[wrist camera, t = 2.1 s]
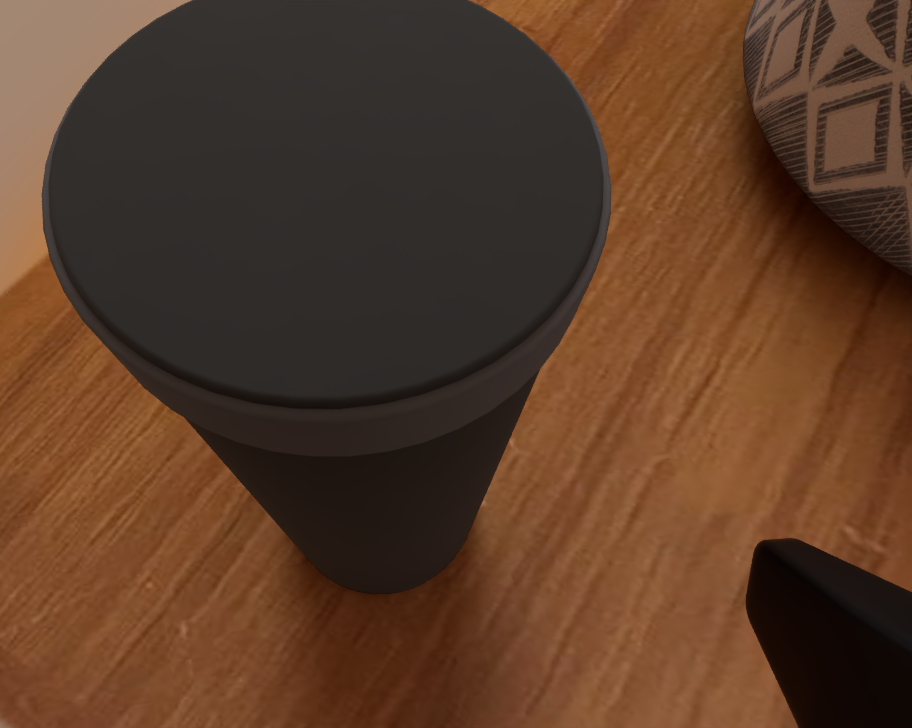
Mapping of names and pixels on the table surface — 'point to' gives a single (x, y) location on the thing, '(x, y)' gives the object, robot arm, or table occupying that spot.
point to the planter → (840, 110)
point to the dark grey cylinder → (334, 252)
